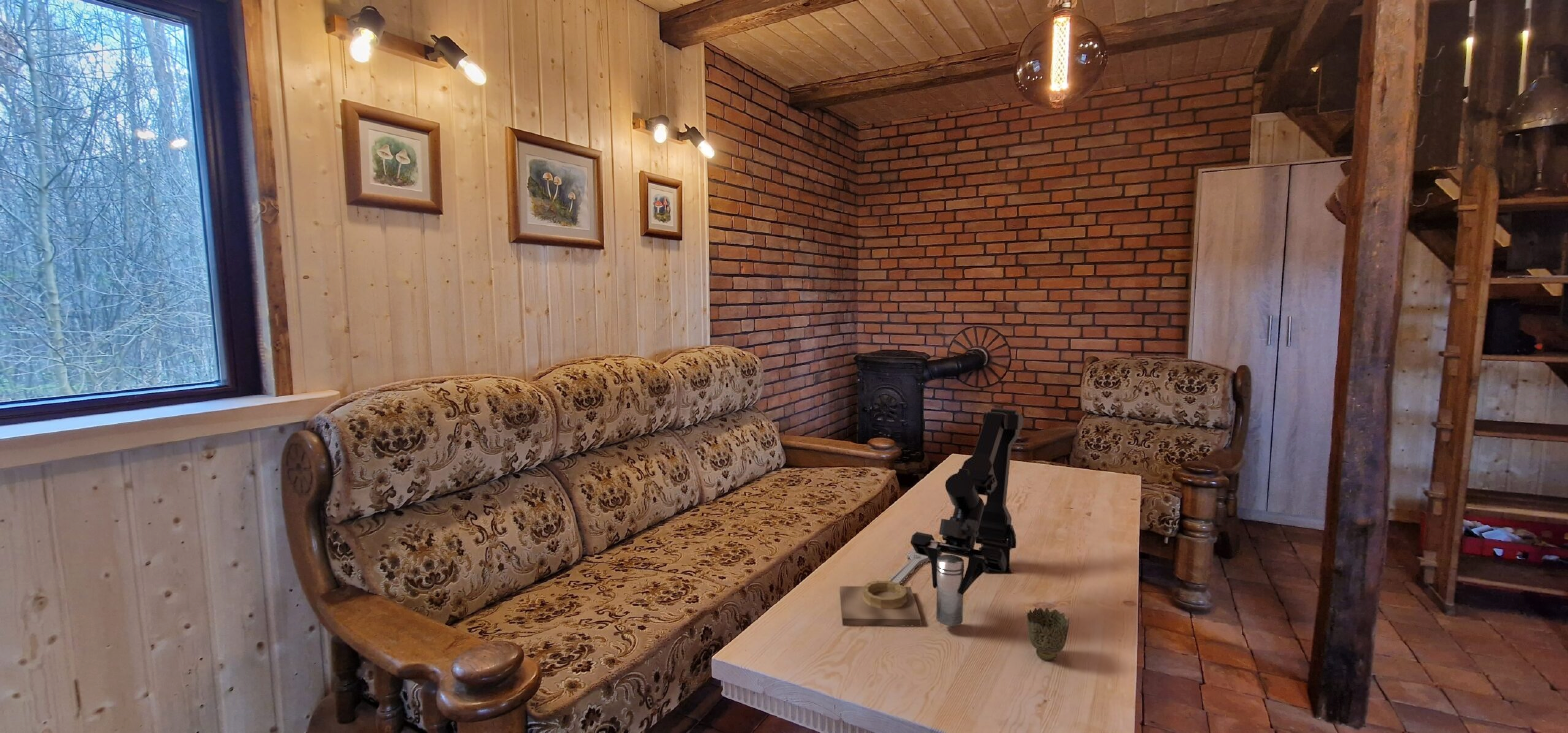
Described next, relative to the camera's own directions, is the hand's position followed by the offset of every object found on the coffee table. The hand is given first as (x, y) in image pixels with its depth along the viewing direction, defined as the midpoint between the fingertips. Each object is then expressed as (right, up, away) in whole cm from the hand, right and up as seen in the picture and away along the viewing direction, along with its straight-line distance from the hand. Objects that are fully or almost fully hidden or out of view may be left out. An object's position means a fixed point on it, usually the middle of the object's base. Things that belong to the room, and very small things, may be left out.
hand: (947, 590), depth 134 cm
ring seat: (-12, -8, +11) cm, 18 cm away
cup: (+16, -10, -8) cm, 21 cm away
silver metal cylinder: (+1, -6, +2) cm, 7 cm away
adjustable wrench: (-3, -6, +31) cm, 32 cm away
